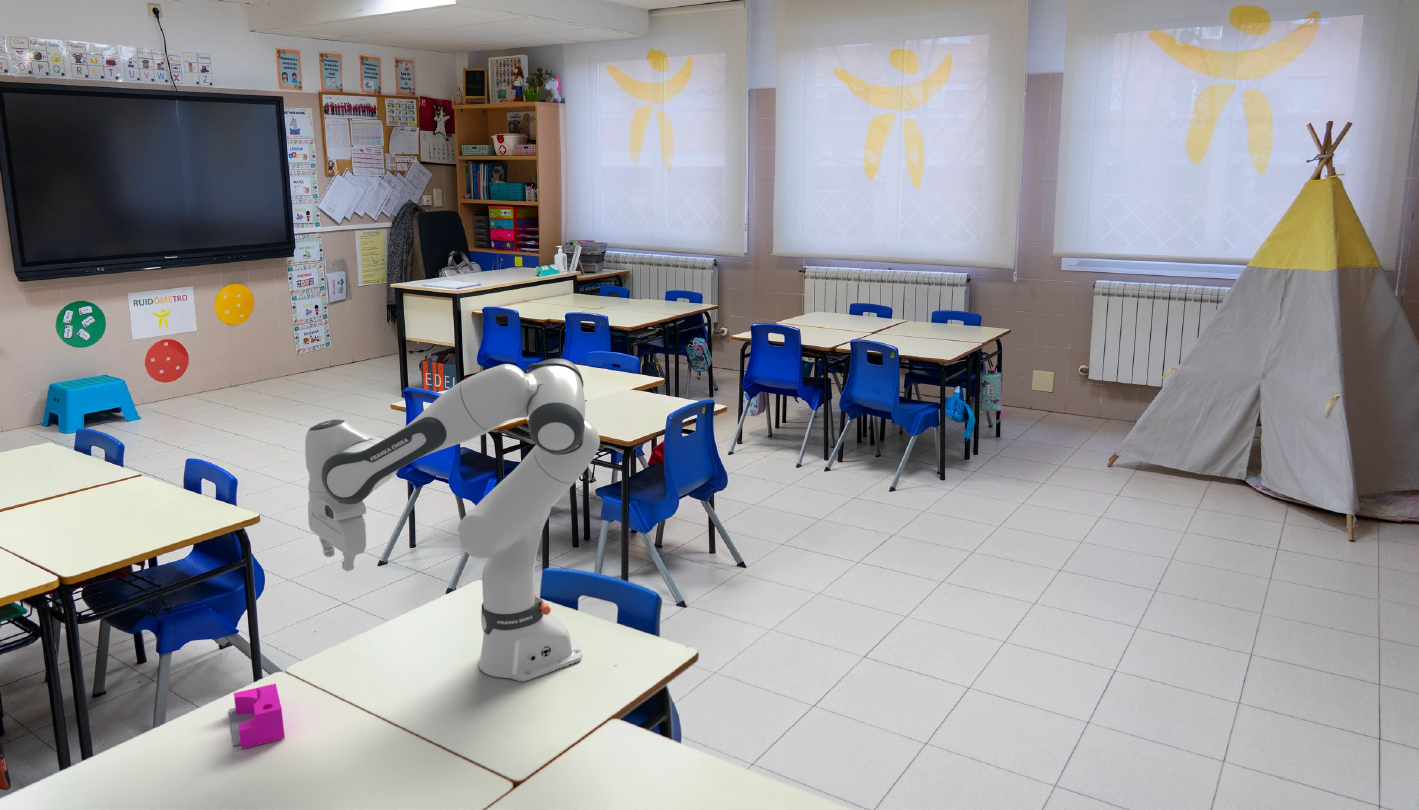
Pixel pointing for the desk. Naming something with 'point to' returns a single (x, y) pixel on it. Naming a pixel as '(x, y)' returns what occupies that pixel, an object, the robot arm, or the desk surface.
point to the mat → (234, 724)
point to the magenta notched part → (259, 715)
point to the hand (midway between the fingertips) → (338, 562)
